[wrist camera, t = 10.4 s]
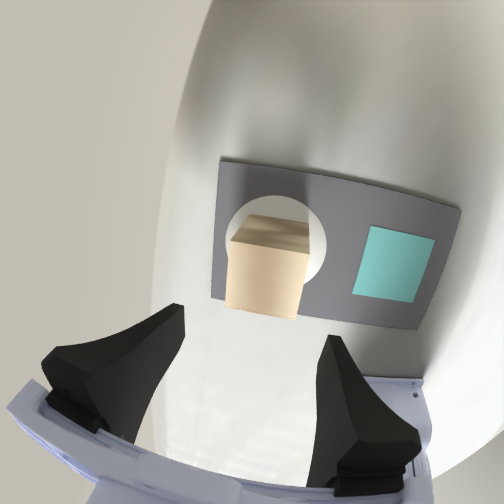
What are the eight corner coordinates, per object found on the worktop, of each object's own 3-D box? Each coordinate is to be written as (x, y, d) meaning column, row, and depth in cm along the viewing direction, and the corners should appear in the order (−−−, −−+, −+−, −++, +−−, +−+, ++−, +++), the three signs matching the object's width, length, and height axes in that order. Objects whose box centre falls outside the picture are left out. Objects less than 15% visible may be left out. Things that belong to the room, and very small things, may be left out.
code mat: (459, 209, 18) (462, 210, 17) (415, 327, 23) (417, 330, 22) (221, 160, 20) (219, 161, 20) (212, 295, 25) (210, 298, 25)
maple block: (308, 223, 20) (310, 254, 15) (298, 276, 22) (295, 320, 17) (249, 213, 21) (229, 240, 15) (244, 266, 23) (224, 306, 17)
